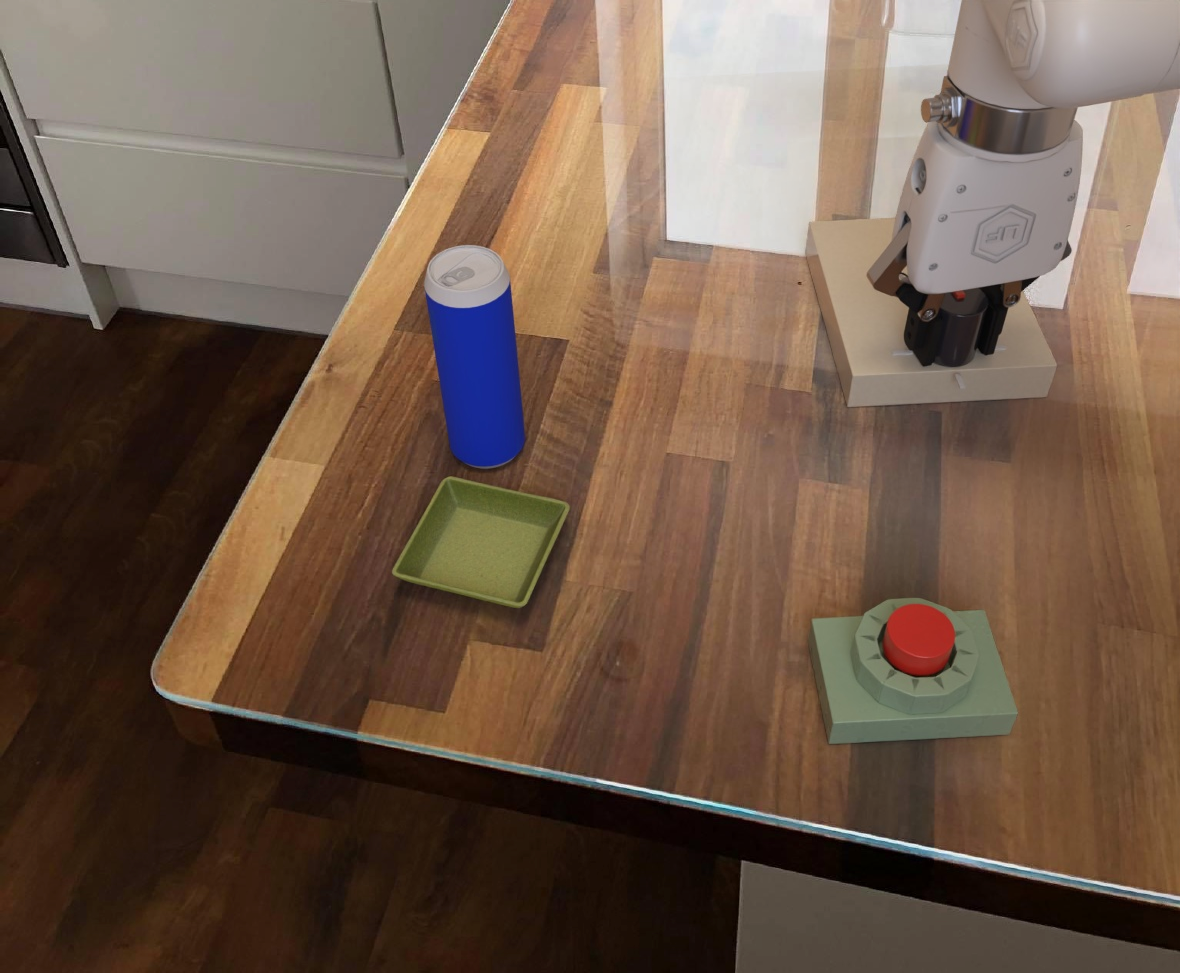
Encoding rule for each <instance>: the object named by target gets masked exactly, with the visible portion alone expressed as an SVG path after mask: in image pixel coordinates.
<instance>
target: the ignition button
mask: <svg viewBox="0 0 1180 973" xmlns="http://www.w3.org/2000/svg"><path fill="white" fill-rule="evenodd" d="M954 641H955V630H954V627H953V625H952V623H951V621H950V620H949V618H948V617H947V616H946V615H945V614H943V613H942V612H941V611H939V610H937V609H935V608H933V607H931V606H928V605H923V604H909V605H905V606H902V607H900V608H898V609H897V610H895V611H894V612H893V613H892V614H891V615H890V617H889V619H888V622H887V626H886V630H885V634H884V638H883V651H884V654H885V656H886V657H887V659H888V660H889V662H890V663H891V664H892V665H893V666H894V667H896V668H897V669H899V670H900V671H902V672H905V673H907V674H910V675H916V676H927V675H931V674H934V673H936V672H938V671H940V670H941V669H943V668H944V667H945V665H946V664H947V662H948V660H949V657H950V654H951V651H952V648H953V645H954Z"/></svg>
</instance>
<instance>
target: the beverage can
mask: <svg viewBox="0 0 1180 973" xmlns="http://www.w3.org/2000/svg"><path fill="white" fill-rule="evenodd" d="M425 272H426V273H425V277H424V282H423V287H424V293H425V300H426V307H427V312H428V317H429V324H430V331H431V337H432V343H433V350H434V356H435V357H434V358H435V362H436V369H437V374H438V382H439V387H440V394H441V400H442V407H443V412H444V418H445V419H444V420H445V425H446V431H447V438H448V443H449V449H450V451H451V453H452V454H453V455H454V457H456V459H458V460H460V461H461V462H462V463H464V464H465V465H467V466H469V467H472V468H476V469H482V470H488V469H489V470H490V469H495V468H499V467H502V466H504V465H507V464H508V463H510V462H511V461H512V460H513V459H515V457H516V456H517V455H519V453H520V452H521V451H522V450H523V447H524V445H525V442H526V432H525V421H524V411H523V400H522V389H521V380H520V379H521V376H520V367H519V357H518V348H517V336H516V327H515V326H516V324H515V315H514V306H513V305H514V304H513V293H512V283H511V275H510V272H509V270H508V268H507V266H506V264H505V262H504V260H503V259H502V257H501V255H499V254H498V253H497V252H496V251H494V250H492V249H491V248H488V247H484V246H481V245H475V244H464V245H463V244H461V245H456V246H452V247H448V248H446V249H443V250H442V251H440V252H438V253H436V255H434V256H433V257H432V258H431V259H430V261H429V262H428V264H427V268H426V271H425Z"/></svg>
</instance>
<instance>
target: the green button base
mask: <svg viewBox="0 0 1180 973" xmlns="http://www.w3.org/2000/svg"><path fill="white" fill-rule="evenodd" d="M909 604H923V605H928V606H931V607H933V608H935V609H937V610H939V611H941V612H942V613H943V614H945V615H946V616H947V617H948V618H949V620H950V621H951V623H952V625H953V627H954V630H955V641H954V645H953V648H952V651H951V654H950V657H949V660H948V662H947V664H946V665H945V667H944V668H943V669H941V670H940V671H938V672H936V673H934V674H931V675H927V676H916V675H910V674H907V673H905V672H902V671H900V670H899V669H897V668H896V667H894V666H893V665H892V664H891V663H890V662H889V660H888V659H887V657H886V656H885V654H884V651H883V638H884V634H885V630H886V626H887V622H888V619H889V617H890V615H891V614H892V613H893V612H894V611H895V610H897V609H898V608H900V607H902V606H905V605H909ZM807 644H808V650H809V654H810V660H811V664H812V665H811V666H812V668H813V674H814V678H815V679H814V680H815V684H816V689H817V690H816V691H817V694H818V699H819V704H820V709H821V715H822V719H823V723H824V724H823V725H824V729H825V733H826V738H827V743H828V744H829V745H838V744H855V743H856V744H858V743H859V744H861V743H875V742H896V741H911V740H912V741H914V740H931V739H934V740H935V739H952V738H971V737H990V736H1008V735H1010V734H1011V732H1012V730H1013V728H1014V725H1015V722H1016V721H1017V717H1018V715H1019V711H1018V708H1017V705H1016V702H1015V698H1014V695H1013V692H1012V689H1011V687H1010V684H1009V680H1008V678H1007V675H1006V672H1005V669H1004V664H1003V663H1002V662H1003V661H1002V659H1001V655H1000V653H999V650H998V648H997V644H996V641H995V638H994V635H993V631H992V629H991V626H990V622H989V619H988V616H987V614H986V610H985V609H971V610H967V609H966V610H952V609H951V608H949V607H947V606H944V605H941V604H938V603H935V602H933V601H930V600H927V599H925V598H922V597H905V598H902V597H901V598H887V599H886V600H884V601H882V602H880V603H879V604H878V605H875V606H874V607H872V608H871V609H869V610H867V611H865V612H864V613H863V615H853V616H852V615H851V616H837V617H834V616H833V617H817V618H816V617H815V618H811V620H810V625H809V631H808V636H807Z"/></svg>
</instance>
